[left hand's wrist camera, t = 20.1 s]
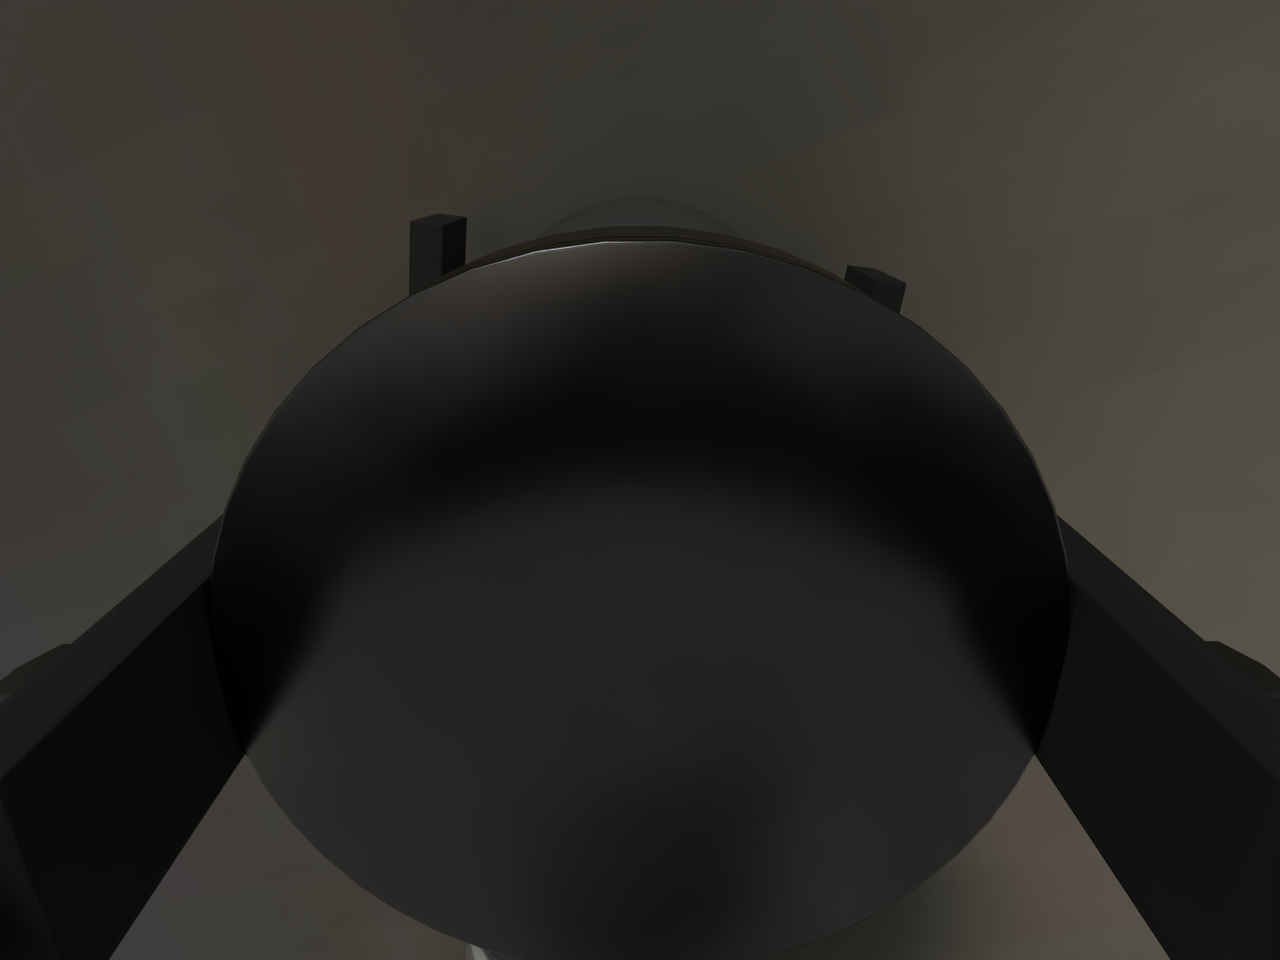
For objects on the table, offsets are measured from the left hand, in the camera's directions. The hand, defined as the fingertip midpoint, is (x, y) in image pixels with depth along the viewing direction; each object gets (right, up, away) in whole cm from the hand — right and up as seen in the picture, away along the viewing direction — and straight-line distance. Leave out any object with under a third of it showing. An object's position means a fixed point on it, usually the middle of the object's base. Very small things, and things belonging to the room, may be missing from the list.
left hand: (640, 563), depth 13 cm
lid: (0, -1, -3) cm, 3 cm away
